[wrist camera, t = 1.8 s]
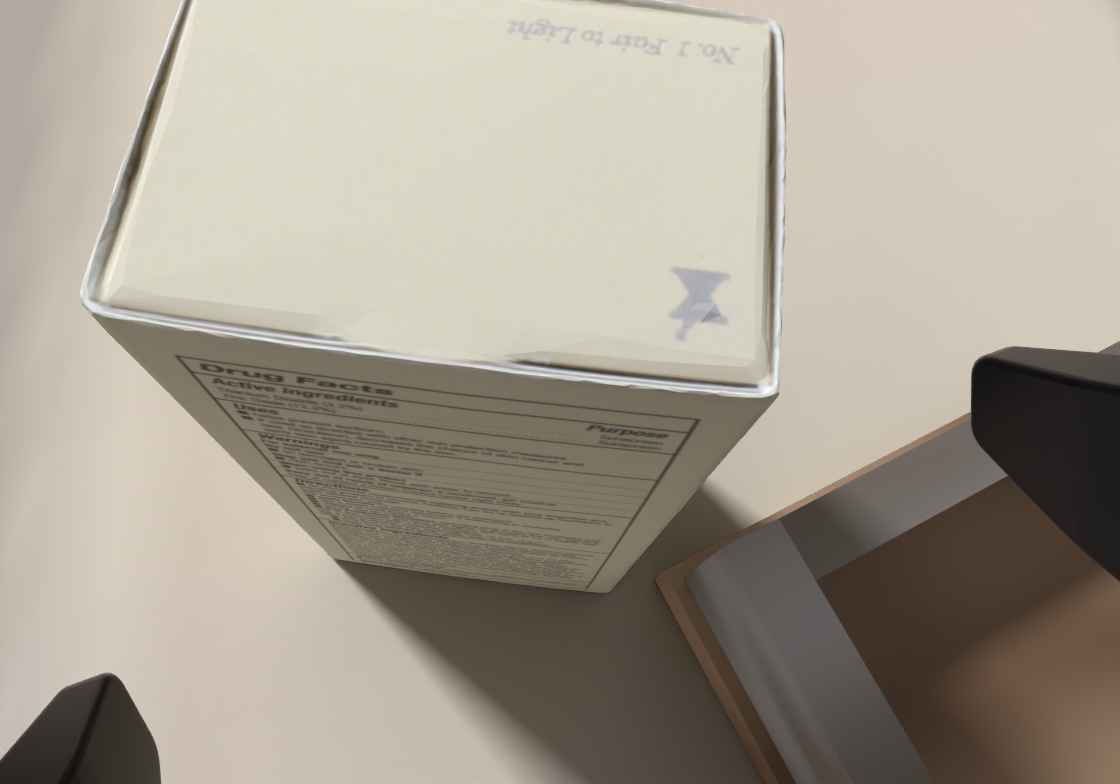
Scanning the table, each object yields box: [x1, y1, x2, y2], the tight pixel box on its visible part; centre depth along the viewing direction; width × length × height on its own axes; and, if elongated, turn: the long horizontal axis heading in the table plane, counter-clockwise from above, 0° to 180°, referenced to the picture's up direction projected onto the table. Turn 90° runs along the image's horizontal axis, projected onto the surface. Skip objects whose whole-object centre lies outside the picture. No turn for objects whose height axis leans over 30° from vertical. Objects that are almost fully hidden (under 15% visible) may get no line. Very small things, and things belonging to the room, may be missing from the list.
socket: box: [655, 341, 1120, 784], centre depth 17 cm, size 11×11×4 cm
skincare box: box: [80, 0, 787, 593], centre depth 14 cm, size 6×4×12 cm
